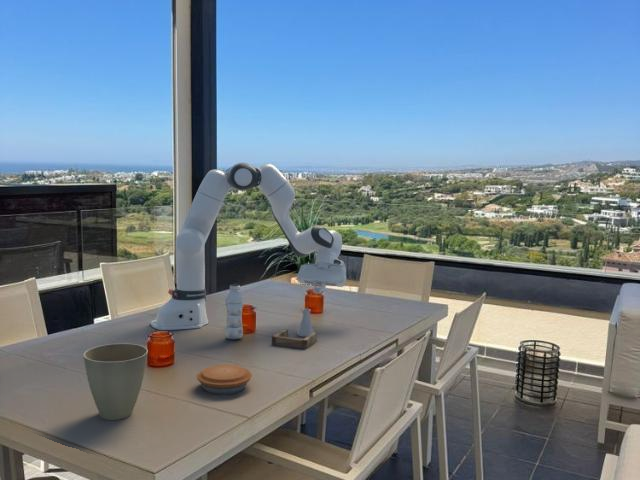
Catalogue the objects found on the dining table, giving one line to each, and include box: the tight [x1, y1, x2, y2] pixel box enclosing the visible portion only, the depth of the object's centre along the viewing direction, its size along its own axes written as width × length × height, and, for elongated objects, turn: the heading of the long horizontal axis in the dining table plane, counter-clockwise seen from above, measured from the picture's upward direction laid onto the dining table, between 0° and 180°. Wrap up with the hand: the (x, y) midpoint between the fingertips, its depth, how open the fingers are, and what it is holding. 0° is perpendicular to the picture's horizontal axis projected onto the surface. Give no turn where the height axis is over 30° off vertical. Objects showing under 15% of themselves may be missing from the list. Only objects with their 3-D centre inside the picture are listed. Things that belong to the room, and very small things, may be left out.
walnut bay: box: [271, 328, 318, 350], centre depth 211 cm, size 12×13×3 cm
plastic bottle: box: [224, 284, 244, 340], centre depth 213 cm, size 6×7×20 cm
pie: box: [196, 364, 253, 395], centre depth 164 cm, size 16×16×5 cm
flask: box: [296, 308, 315, 338], centre depth 222 cm, size 7×7×10 cm
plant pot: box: [83, 342, 149, 421], centre depth 143 cm, size 15×15×16 cm
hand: (316, 292), depth 232 cm, fingers closed
